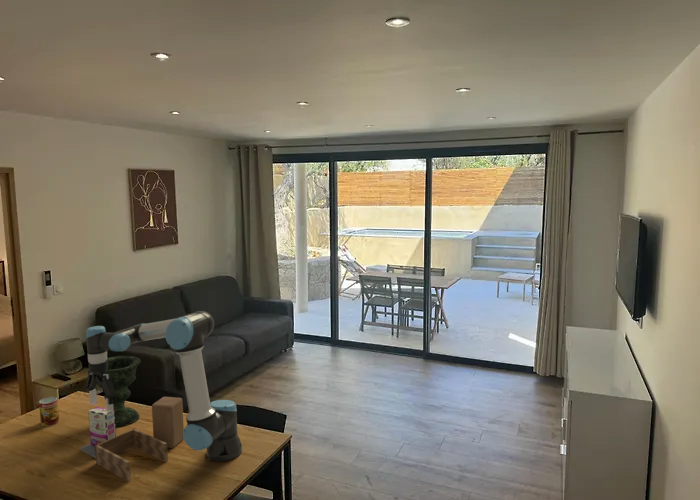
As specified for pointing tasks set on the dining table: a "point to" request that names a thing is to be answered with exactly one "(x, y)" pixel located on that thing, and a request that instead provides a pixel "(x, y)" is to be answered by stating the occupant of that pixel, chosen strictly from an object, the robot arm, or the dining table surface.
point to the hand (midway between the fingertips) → (101, 407)
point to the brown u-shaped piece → (124, 442)
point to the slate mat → (89, 450)
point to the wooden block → (168, 420)
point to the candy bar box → (101, 425)
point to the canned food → (49, 411)
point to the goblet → (122, 387)
